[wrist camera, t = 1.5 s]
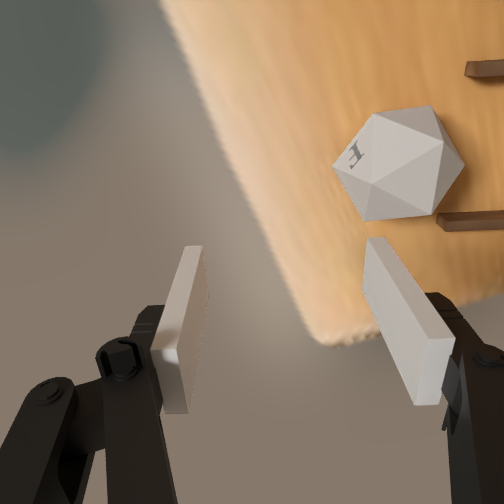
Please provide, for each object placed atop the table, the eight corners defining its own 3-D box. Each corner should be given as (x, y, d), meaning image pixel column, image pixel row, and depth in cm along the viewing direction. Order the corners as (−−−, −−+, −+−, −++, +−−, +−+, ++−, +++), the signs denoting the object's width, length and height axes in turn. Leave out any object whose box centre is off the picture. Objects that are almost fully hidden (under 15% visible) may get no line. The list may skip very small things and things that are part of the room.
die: (412, 76, 31) (362, 90, 25) (498, 148, 30) (470, 185, 23) (350, 153, 38) (297, 182, 31) (419, 217, 36) (379, 262, 29)
